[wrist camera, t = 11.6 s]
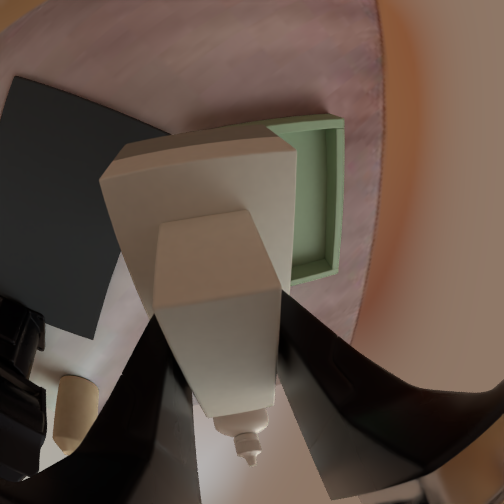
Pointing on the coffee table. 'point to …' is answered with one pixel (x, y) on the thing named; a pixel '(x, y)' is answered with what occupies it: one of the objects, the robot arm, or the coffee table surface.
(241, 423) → the eye dropper bottle
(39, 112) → the mat
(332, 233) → the tray
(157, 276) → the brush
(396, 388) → the robot arm
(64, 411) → the candle
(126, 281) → the coffee table surface
